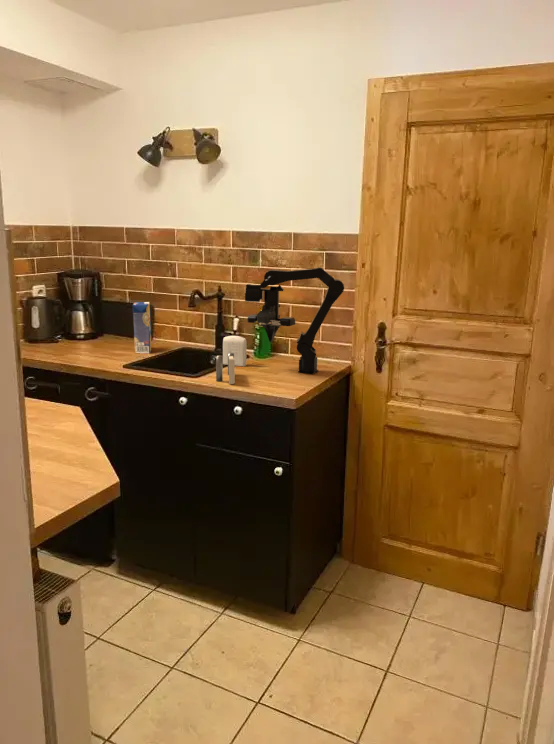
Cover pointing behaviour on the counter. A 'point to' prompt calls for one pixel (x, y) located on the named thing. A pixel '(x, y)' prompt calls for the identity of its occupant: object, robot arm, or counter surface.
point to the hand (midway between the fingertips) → (270, 341)
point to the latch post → (219, 368)
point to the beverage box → (142, 327)
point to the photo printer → (235, 349)
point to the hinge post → (228, 359)
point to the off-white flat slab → (231, 370)
